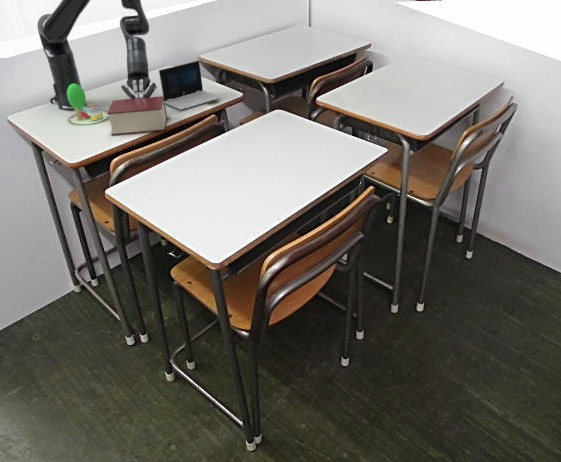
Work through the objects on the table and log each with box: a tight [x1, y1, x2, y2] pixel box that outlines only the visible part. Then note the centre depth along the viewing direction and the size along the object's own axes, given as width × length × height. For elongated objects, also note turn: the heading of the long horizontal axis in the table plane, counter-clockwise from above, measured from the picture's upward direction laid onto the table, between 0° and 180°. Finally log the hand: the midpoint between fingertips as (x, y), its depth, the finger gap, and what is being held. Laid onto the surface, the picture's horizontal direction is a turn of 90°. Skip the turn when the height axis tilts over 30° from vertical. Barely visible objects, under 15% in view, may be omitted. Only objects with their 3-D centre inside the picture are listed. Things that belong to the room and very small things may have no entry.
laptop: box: [158, 60, 220, 111], centre depth 203 cm, size 18×12×13 cm
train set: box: [67, 84, 109, 125], centre depth 193 cm, size 15×14×14 cm
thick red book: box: [106, 95, 168, 136], centre depth 185 cm, size 18×13×8 cm
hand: (140, 109), depth 191 cm, fingers closed
